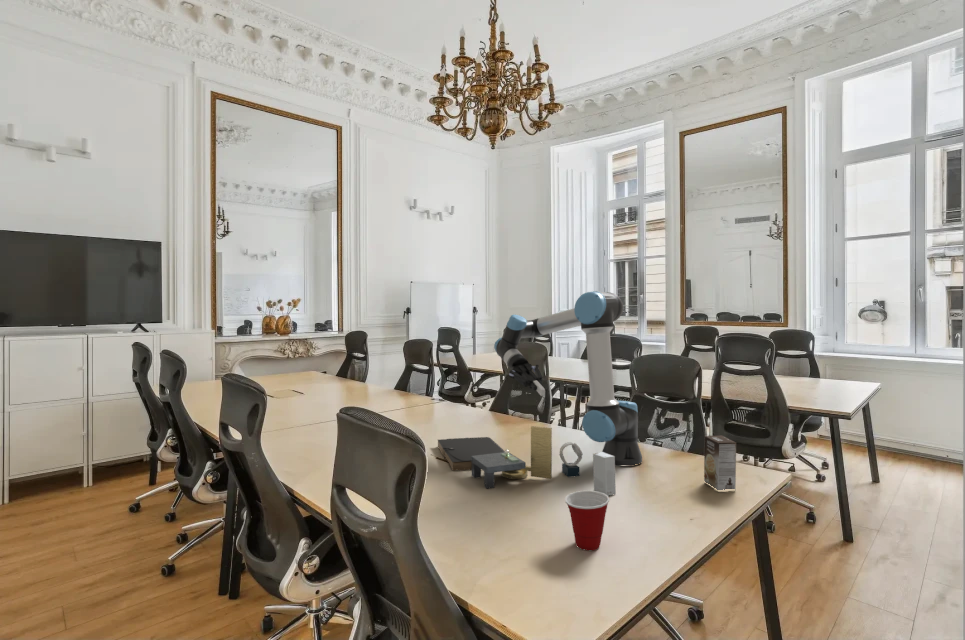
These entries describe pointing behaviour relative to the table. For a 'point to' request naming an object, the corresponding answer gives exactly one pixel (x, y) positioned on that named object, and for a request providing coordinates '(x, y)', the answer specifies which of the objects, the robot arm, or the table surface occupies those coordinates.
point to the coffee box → (720, 462)
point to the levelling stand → (494, 465)
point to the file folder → (466, 450)
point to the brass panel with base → (537, 456)
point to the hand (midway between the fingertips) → (543, 392)
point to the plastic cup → (587, 517)
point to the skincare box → (604, 473)
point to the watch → (571, 468)
